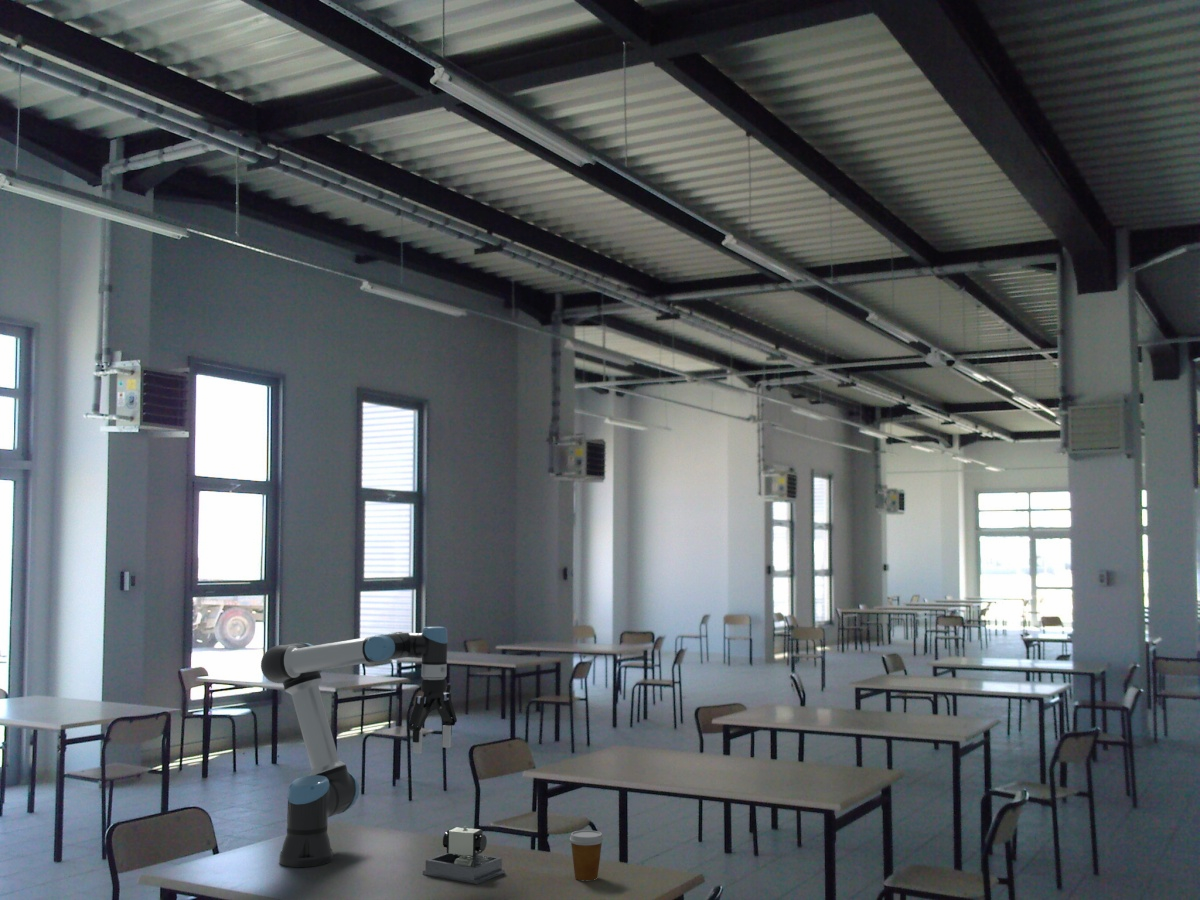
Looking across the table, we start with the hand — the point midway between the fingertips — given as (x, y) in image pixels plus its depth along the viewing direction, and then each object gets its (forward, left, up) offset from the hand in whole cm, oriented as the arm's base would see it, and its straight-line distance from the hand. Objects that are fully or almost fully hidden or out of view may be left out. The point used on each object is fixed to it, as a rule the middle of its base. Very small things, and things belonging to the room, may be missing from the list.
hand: (432, 750), depth 321 cm
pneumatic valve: (+18, -7, -31) cm, 36 cm away
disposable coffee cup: (+50, +7, -32) cm, 59 cm away
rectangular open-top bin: (+18, -7, -32) cm, 37 cm away
